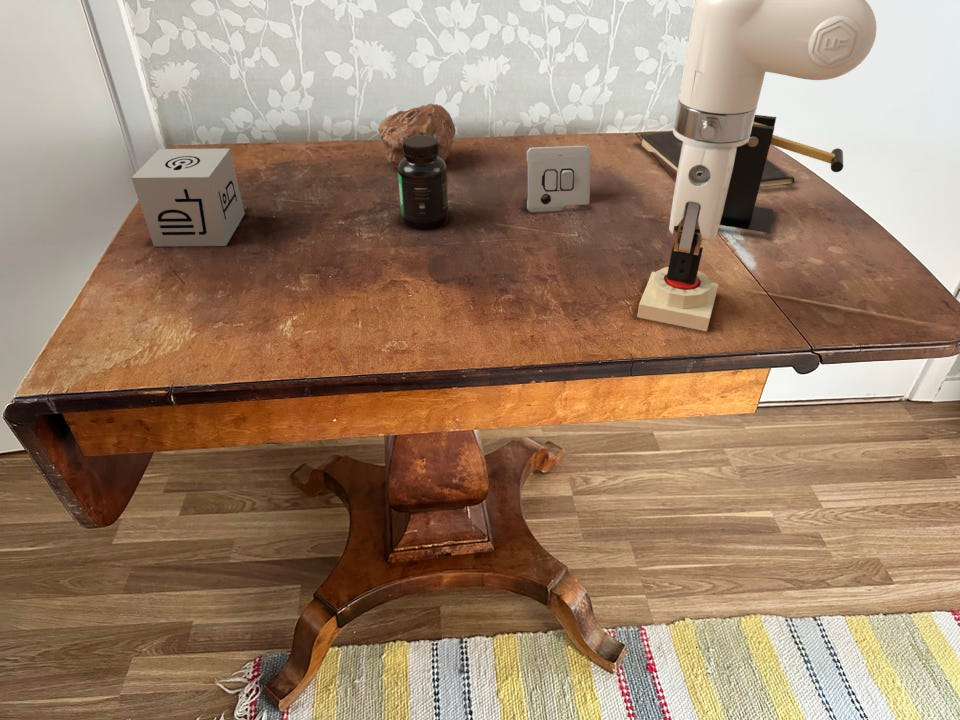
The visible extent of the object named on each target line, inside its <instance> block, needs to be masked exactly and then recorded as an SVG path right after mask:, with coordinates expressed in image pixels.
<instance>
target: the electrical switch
mask: <svg viewBox="0 0 960 720" xmlns="http://www.w3.org/2000/svg"><path fill="white" fill-rule="evenodd" d="M591 150H592V149H591V148H590V147H589V146H588V145H564V146H562V145H561V146H537V147H536V146H535V147H529V148H528V149H527V150H526V162H527V199H526V209H527V211H528V212H529V213H548V212H549V213H550V212H562V211H563V210H564V209H565V207H566V206H584V205H586V206H587V205H590V199H591V197H590V196H591V159H592V158H591V157H592V151H591ZM545 196H547V198H546V200H545V201H544V200H543V197H545Z"/></svg>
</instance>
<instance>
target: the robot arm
mask: <svg viewBox="0 0 960 720" xmlns="http://www.w3.org/2000/svg"><path fill="white" fill-rule="evenodd" d="M876 19H877V18H876V16H875V13H874V10H873V9H872V7H871V6H870V4H869V3H868V1H867V0H695V2H694V7H693V11H692V18H691V23H690V29H689V34H688V35H689V36H688V42H687V47H686V54H685V59H684V65H683V70H682V75H681V76H682V77H681V83H680V89H679V94H678V100H677V107H676V111H675V117H674V123H673V128H672V129H673V130H672V132H673V134H674V136H675V137H676V138H678V139H679V140H681V141H683V144H682V149H681V155H680V160H679V166H678V171H676V178H675V184H674V190H673V197H672V204H671V209H670V219H669V227H668V231H669V233H670V234H671V235H672V236H674V235H675V239H674V243H673V246H672V248H671V253H670V257H669V263H668V267H669V268H668V273H667V279H668V280H672V281H678V282H683V283H688V284H694V283H695V280H696V277H697V273H698V271H699V268H700V263H701V258H702V255H703V251H704V247H702V245H703V240H705V241H707V242H712V241H714V240H716V238H717V235H718V231H719V228H720V226H721V225H720V221H721V217H722V213H723V209H724V205H725V201H726V196H727V192H728V188H729V184H730V179H731V175H732V170H733V166H734V161H735V155H736V149H737V147H739V146H742V145H744V144H746V143H747V142H748V141H749V138H750V134H751V130H752V126H753V121H754V117H755V115H756V112H757V109H758V105H759V100H760V96H761V91H762V87H763V84H764V79H765V75H766V73H770V74H771V73H772V74H776V75H777V74H778V75H782V76H788V77H792V78H796V79H802V80H810V81H826V80H833V79H837V78H840V77H842V76H844V75H846V74H848V73H850V72H851V71H853V70H854V69H856V68H857V67H858V66H859V65H860V64H862V63H863V62H864V60H865V59H866V58H867V56H869V54H870V52H871V50H872V48H873V46H874V43H875V41H876V36H877V20H876Z"/></svg>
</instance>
